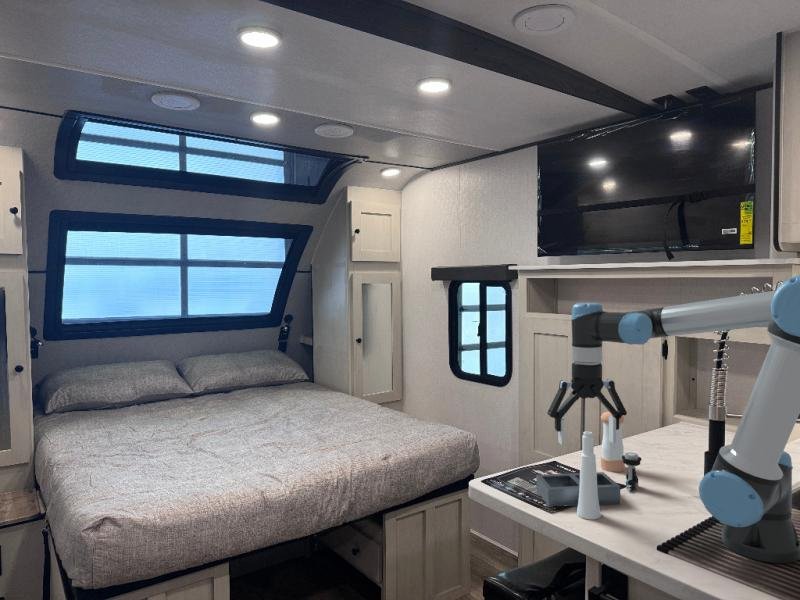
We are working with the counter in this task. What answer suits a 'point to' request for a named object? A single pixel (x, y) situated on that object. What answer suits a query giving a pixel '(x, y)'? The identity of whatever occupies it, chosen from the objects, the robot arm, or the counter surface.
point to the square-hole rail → (575, 489)
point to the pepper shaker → (612, 447)
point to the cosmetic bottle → (588, 481)
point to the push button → (631, 470)
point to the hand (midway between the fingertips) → (586, 442)
